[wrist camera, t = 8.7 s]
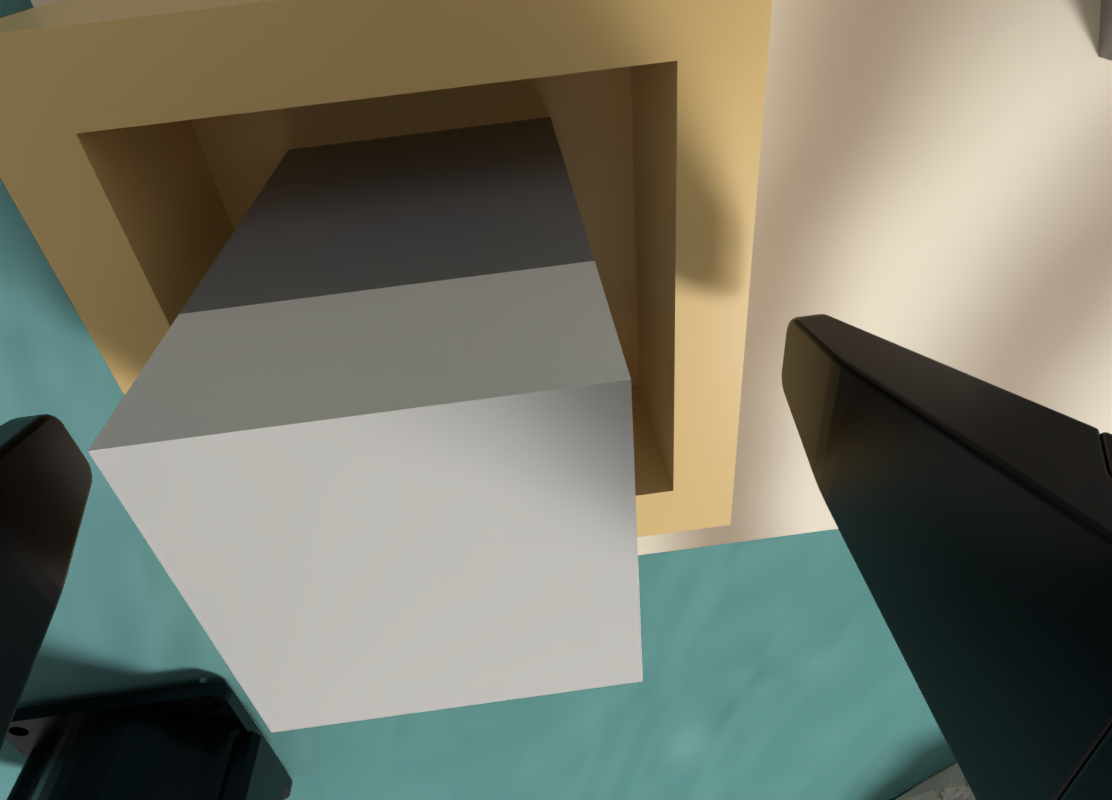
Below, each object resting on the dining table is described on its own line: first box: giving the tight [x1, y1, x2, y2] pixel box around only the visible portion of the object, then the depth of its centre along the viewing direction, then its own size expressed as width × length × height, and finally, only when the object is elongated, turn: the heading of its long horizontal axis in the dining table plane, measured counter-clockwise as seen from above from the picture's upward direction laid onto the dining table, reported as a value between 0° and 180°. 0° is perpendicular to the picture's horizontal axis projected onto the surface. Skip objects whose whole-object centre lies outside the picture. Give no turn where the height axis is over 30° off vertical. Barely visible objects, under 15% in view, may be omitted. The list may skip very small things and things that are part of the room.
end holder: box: [0, 0, 772, 537], centre depth 11 cm, size 8×8×4 cm
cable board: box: [30, 0, 1112, 555], centre depth 11 cm, size 23×23×1 cm
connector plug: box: [88, 117, 643, 733], centre depth 9 cm, size 4×4×7 cm
